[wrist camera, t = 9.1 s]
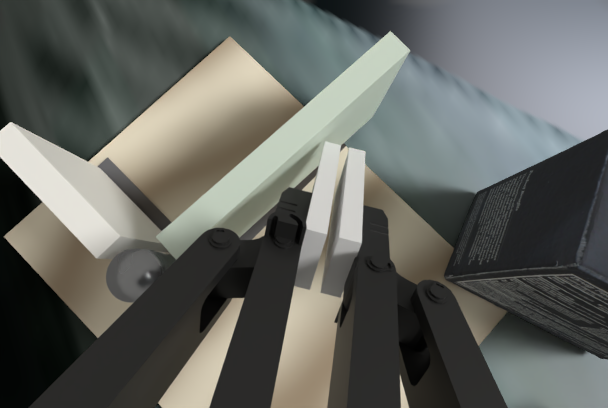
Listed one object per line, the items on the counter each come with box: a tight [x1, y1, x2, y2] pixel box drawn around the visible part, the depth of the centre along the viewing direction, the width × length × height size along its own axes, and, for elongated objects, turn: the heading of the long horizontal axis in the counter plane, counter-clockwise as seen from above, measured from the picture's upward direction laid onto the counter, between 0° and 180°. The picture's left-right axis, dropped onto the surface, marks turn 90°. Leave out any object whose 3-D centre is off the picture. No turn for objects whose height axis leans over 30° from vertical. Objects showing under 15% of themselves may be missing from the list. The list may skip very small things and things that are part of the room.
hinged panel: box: [156, 32, 410, 260], centre depth 20 cm, size 13×1×8 cm, turn 133°
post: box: [106, 249, 176, 303], centre depth 19 cm, size 2×2×8 cm
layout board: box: [4, 37, 508, 408], centre depth 23 cm, size 24×18×1 cm
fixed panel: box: [0, 122, 169, 259], centre depth 19 cm, size 6×1×8 cm, turn 46°
